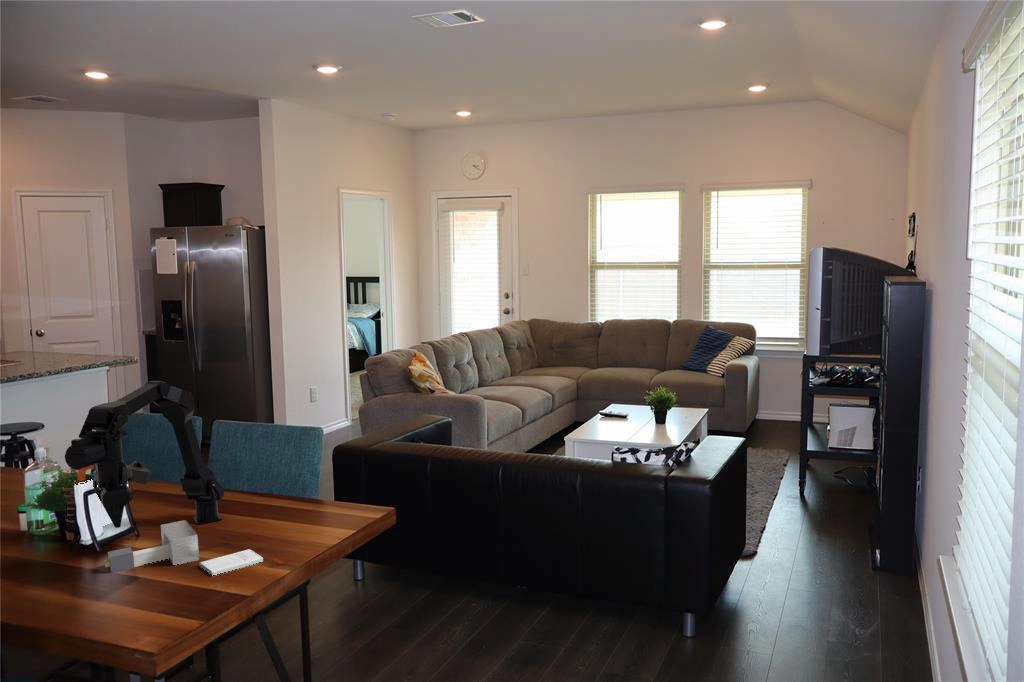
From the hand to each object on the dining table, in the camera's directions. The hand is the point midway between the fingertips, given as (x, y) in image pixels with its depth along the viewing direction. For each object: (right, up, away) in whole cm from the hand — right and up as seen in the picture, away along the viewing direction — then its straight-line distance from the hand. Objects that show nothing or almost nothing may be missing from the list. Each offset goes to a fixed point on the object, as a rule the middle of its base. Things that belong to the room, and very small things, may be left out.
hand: (114, 522), depth 193 cm
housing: (+12, -10, +9) cm, 18 cm away
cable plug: (+6, -11, +5) cm, 14 cm away
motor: (-20, -9, +25) cm, 33 cm away
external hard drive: (+27, -11, +3) cm, 29 cm away
